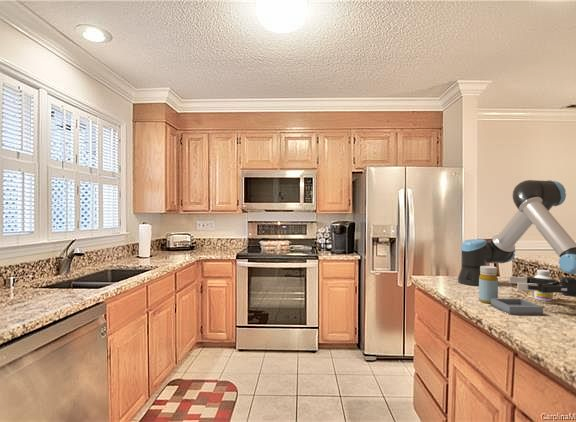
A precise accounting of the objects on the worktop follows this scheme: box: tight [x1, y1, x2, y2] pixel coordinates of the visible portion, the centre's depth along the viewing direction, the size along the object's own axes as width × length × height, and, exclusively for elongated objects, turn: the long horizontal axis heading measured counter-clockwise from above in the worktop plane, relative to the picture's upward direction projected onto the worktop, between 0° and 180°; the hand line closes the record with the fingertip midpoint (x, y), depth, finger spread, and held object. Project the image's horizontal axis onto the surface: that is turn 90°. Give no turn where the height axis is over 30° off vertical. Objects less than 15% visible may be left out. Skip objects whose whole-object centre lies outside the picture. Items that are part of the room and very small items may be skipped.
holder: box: [490, 297, 544, 316], centre depth 138 cm, size 12×12×3 cm
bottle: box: [478, 265, 499, 305], centre depth 150 cm, size 7×7×15 cm
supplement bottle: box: [533, 269, 554, 302], centre depth 154 cm, size 7×7×13 cm
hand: (513, 282), depth 146 cm, fingers open, 13 cm apart
